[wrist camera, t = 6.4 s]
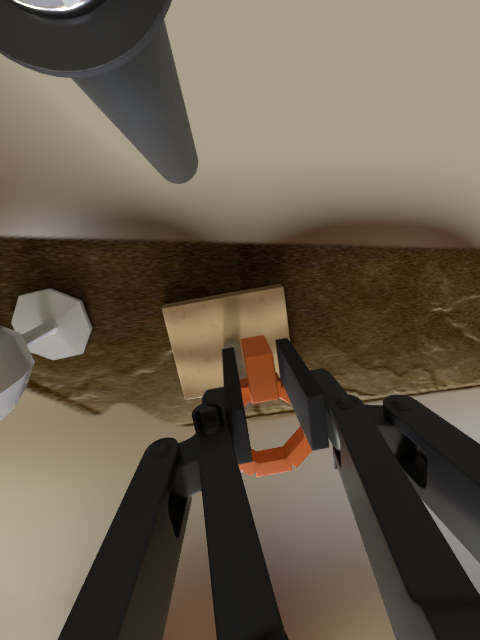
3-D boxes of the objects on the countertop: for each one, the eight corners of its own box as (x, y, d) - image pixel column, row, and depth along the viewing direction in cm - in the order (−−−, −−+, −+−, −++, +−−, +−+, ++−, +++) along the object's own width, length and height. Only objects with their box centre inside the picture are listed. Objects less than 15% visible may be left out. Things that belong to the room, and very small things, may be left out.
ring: (196, 346, 19) (193, 366, 16) (307, 326, 19) (323, 343, 16) (223, 470, 22) (224, 506, 19) (318, 452, 22) (334, 485, 19)
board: (164, 304, 34) (131, 348, 21) (279, 283, 35) (319, 314, 21) (186, 391, 38) (170, 477, 24) (290, 372, 38) (330, 446, 25)
